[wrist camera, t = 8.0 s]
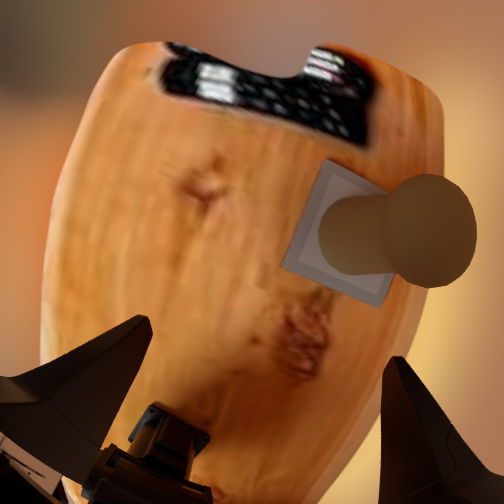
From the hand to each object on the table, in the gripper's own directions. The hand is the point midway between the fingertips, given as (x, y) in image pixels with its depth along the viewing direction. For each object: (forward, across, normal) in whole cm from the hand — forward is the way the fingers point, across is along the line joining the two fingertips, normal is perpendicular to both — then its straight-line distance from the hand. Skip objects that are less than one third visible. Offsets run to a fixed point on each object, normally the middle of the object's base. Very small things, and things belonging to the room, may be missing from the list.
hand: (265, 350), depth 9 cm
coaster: (+14, -5, +1) cm, 15 cm away
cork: (+13, -5, +1) cm, 14 cm away
